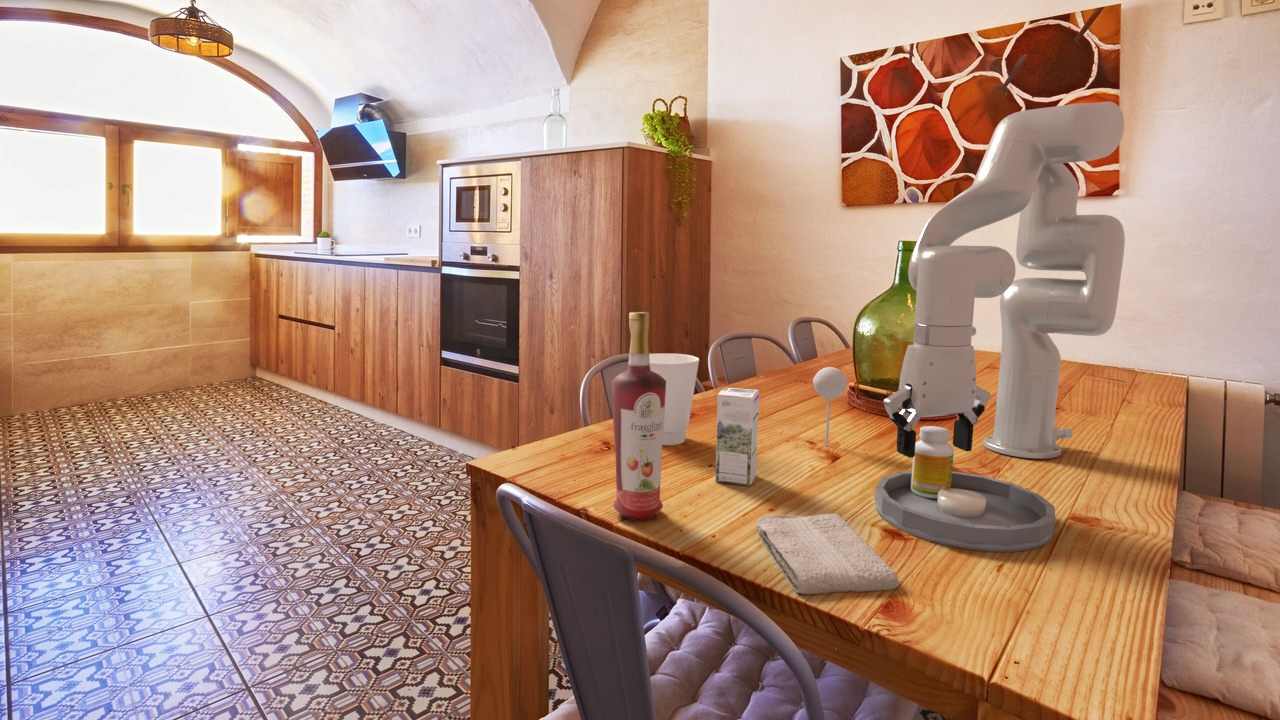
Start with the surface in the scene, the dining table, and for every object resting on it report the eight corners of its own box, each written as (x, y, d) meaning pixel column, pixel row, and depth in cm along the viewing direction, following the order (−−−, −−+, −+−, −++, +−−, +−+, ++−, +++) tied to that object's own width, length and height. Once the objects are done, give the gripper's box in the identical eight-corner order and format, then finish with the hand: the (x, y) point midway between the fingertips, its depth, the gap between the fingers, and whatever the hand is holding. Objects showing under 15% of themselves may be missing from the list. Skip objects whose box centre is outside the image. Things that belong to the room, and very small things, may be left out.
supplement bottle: (954, 501, 96) (959, 435, 95) (914, 498, 97) (919, 433, 96) (945, 488, 102) (950, 425, 100) (907, 485, 103) (911, 423, 101)
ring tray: (968, 483, 107) (970, 465, 106) (1094, 541, 86) (1097, 519, 85) (845, 495, 101) (846, 476, 100) (948, 561, 80) (950, 537, 79)
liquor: (623, 528, 89) (624, 316, 84) (603, 508, 95) (603, 311, 91) (673, 519, 92) (676, 314, 87) (651, 501, 98) (653, 309, 94)
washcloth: (835, 527, 91) (836, 506, 90) (903, 595, 73) (905, 569, 73) (749, 532, 89) (750, 509, 89) (798, 602, 72) (799, 575, 71)
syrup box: (756, 475, 110) (760, 388, 107) (750, 487, 104) (753, 395, 102) (722, 471, 112) (724, 385, 109) (714, 483, 106) (716, 393, 104)
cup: (679, 452, 122) (680, 365, 119) (624, 442, 128) (624, 359, 125) (708, 437, 132) (710, 356, 129) (656, 428, 138) (656, 351, 135)
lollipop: (807, 448, 125) (811, 368, 123) (812, 439, 130) (815, 363, 128) (842, 452, 123) (846, 371, 120) (845, 443, 128) (849, 365, 126)
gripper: (973, 330, 101) (965, 439, 104) (873, 335, 97) (867, 449, 100) (1013, 336, 94) (1002, 454, 97) (906, 343, 90) (899, 465, 93)
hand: (934, 451), depth 99 cm, fingers open, 9 cm apart
